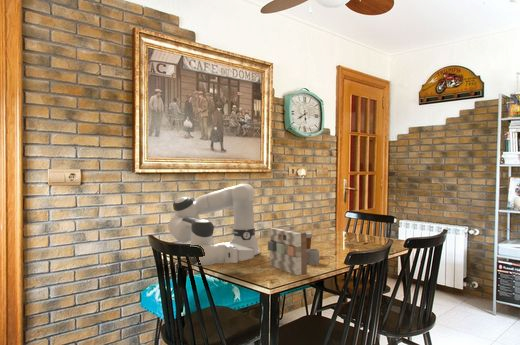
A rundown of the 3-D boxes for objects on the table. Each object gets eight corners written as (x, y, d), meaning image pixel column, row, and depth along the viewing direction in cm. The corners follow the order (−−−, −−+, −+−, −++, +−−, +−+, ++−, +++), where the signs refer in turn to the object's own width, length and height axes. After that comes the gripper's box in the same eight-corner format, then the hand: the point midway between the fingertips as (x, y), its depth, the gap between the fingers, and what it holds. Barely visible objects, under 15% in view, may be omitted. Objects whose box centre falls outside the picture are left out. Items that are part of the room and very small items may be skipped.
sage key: (276, 252, 183) (276, 243, 183) (281, 251, 184) (281, 243, 184) (281, 253, 179) (281, 245, 179) (286, 253, 181) (286, 244, 181)
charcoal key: (268, 249, 189) (267, 241, 189) (273, 249, 191) (273, 240, 191) (272, 251, 186) (272, 242, 186) (277, 250, 187) (277, 241, 187)
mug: (315, 261, 198) (315, 248, 198) (321, 264, 192) (321, 250, 192) (297, 263, 195) (297, 249, 195) (303, 266, 189) (302, 252, 189)
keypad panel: (269, 265, 191) (269, 228, 191) (279, 263, 194) (279, 227, 194) (296, 275, 172) (295, 233, 172) (306, 273, 175) (306, 232, 175)
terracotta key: (288, 254, 177) (287, 245, 177) (293, 254, 178) (293, 245, 178) (293, 256, 173) (293, 247, 173) (298, 255, 175) (298, 246, 175)
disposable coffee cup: (305, 257, 208) (305, 234, 208) (291, 255, 214) (291, 233, 214) (316, 254, 215) (315, 232, 215) (301, 252, 221) (301, 231, 221)
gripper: (216, 255, 184) (242, 252, 191) (236, 263, 167) (264, 260, 174) (216, 241, 184) (242, 239, 191) (236, 249, 167) (264, 245, 174)
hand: (252, 249), depth 182 cm, fingers closed
